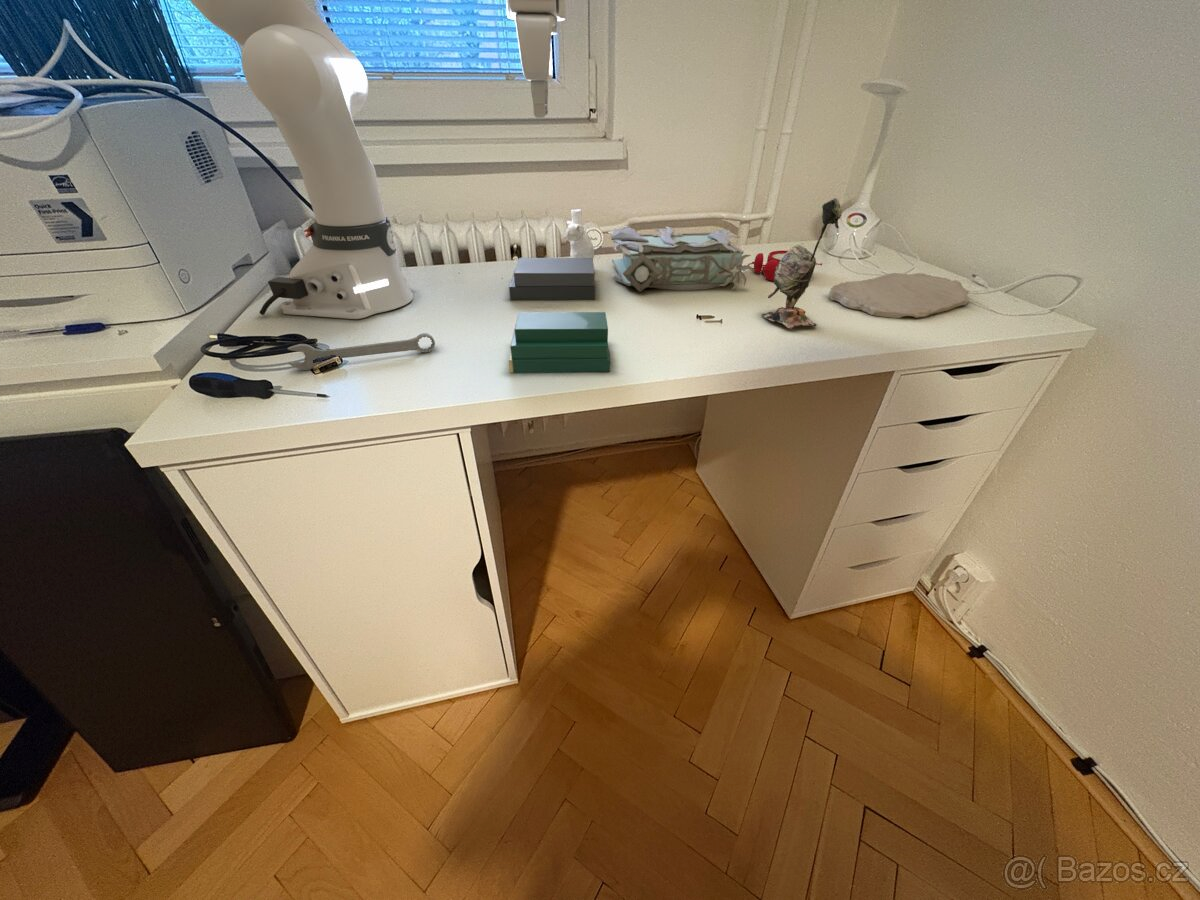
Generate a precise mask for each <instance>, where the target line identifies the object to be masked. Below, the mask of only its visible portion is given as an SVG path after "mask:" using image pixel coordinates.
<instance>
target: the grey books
mask: <svg viewBox="0 0 1200 900" xmlns="http://www.w3.org/2000/svg"><path fill="white" fill-rule="evenodd" d="M594 265H595V264H594V257H593V258H571V257H518V259H517V262H516V266H515V268H514V270H513V274H512V277H511V279H510V283H509V286H508V290H509V299H510V301H540V300H541V301H556V300H557V301H566V300H567V301H575V300H576V301H577V300H578V301H580V300H582V301H585V300H586V301H589V300H590V301H595V300H596V283H595V281H596V277H595V276H596V275H595V267H594Z"/></svg>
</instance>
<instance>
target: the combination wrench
mask: <svg viewBox="0 0 1200 900" xmlns="http://www.w3.org/2000/svg"><path fill="white" fill-rule="evenodd" d="M422 338H427V339H429V340H430V342H431V344H430V346H428V347H427V348H423V347H420V345H419V342H420V340H422ZM435 346H436V341H435V339H434V337H433V335H431V334H429V333H426V332H422V333H420V334H418V335H416V337H413V338H408V339H404V340H403V339H402V340H396V341H395V340H394V341H386V342H379V343H371V344H361V345H353V346H345V347H336V348H328V349H320V348H315V347H313V345H310V344H308V343H298V344H295V345H291V346H289V347H287V350H288V351H293V352H300V353H303V354H304V357H305V358H304V360H303V361H288V362H287V365H289V366H292V367H294V368H295V369H299V370H301V371H310V370H312V369H314V368H315V367H316V366H317V365H319V364H320V363H321V364H322V363H323V362H324V361H321V362H316V363H312V361H313V360H315V359H317V358H321V357H325V356H330V355H336V356H340V358H339V359H347V358H356V357H363V356H364V357H365V356H374V355H381V354H392V353H399V352H408V351H418V352H421V353H430V352H432V350H434V349H435Z"/></svg>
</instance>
